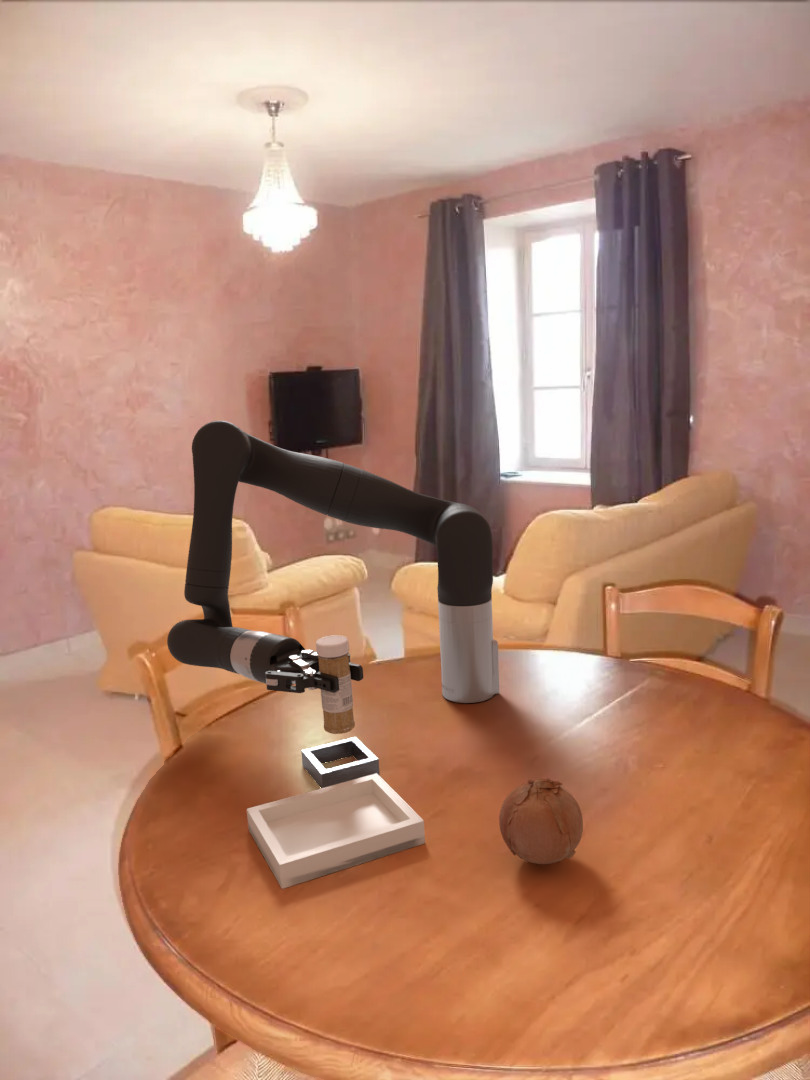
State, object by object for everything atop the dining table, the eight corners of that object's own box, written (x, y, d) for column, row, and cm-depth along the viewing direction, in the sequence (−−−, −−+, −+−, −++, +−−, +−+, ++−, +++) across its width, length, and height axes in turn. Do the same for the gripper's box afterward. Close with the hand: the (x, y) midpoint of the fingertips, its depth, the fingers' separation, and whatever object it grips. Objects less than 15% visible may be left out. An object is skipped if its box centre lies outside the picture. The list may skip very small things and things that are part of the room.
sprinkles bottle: (343, 719, 121) (336, 631, 119) (361, 728, 118) (354, 638, 115) (317, 728, 119) (309, 639, 116) (335, 738, 115) (327, 647, 112)
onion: (549, 829, 102) (547, 754, 100) (601, 867, 93) (600, 786, 91) (484, 853, 97) (481, 775, 95) (533, 895, 89) (531, 810, 87)
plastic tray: (378, 793, 112) (376, 773, 112) (425, 843, 100) (423, 820, 99) (248, 830, 105) (246, 808, 104) (281, 889, 93) (279, 864, 92)
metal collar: (356, 751, 125) (355, 736, 125) (379, 775, 118) (378, 758, 117) (302, 765, 122) (301, 750, 121) (322, 790, 114) (321, 774, 114)
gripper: (227, 648, 120) (310, 670, 109) (299, 621, 130) (381, 638, 120) (233, 697, 121) (315, 723, 110) (303, 666, 132) (384, 687, 121)
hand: (349, 679), depth 115 cm, fingers closed on sprinkles bottle, 4 cm apart
